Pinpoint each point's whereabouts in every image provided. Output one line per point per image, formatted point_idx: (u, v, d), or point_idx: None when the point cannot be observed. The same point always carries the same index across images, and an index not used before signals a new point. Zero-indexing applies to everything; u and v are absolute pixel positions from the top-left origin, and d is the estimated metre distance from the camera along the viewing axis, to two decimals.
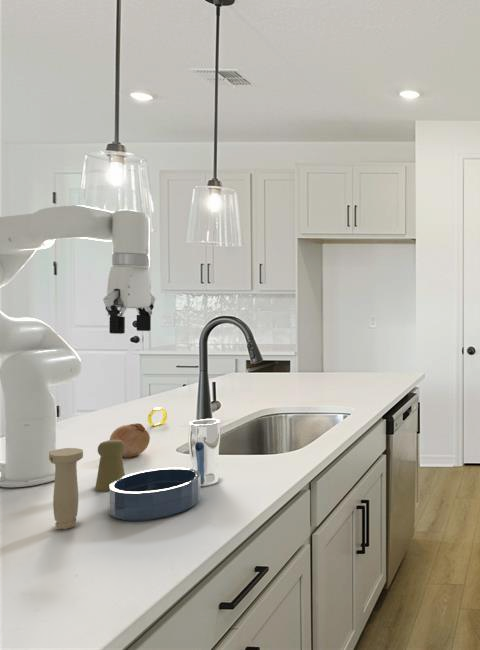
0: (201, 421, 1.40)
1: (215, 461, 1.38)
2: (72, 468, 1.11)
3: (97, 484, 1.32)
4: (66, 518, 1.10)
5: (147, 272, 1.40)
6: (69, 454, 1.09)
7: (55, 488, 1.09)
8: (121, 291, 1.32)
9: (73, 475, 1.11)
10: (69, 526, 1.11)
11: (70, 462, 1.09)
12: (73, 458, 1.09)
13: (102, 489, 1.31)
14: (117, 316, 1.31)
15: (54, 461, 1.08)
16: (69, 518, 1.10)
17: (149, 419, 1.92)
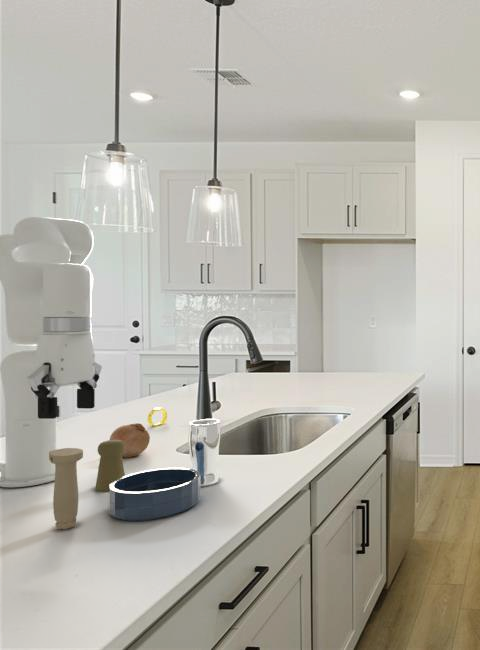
0: (201, 421, 1.40)
1: (215, 461, 1.38)
2: (72, 468, 1.11)
3: (97, 484, 1.32)
4: (66, 518, 1.10)
5: (89, 337, 1.13)
6: (69, 454, 1.09)
7: (55, 488, 1.09)
8: (52, 365, 1.06)
9: (73, 475, 1.11)
10: (69, 526, 1.11)
11: (70, 462, 1.09)
12: (73, 458, 1.09)
13: (102, 489, 1.31)
14: (47, 397, 1.05)
15: (54, 461, 1.08)
16: (69, 518, 1.10)
17: (149, 419, 1.92)
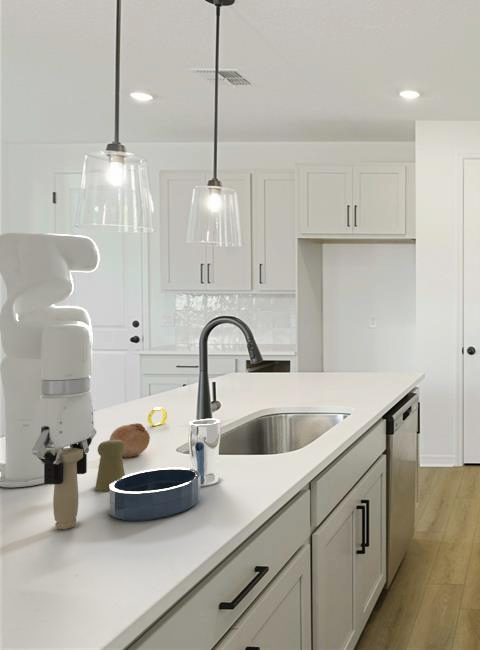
0: (201, 421, 1.40)
1: (215, 461, 1.38)
2: (72, 468, 1.11)
3: (97, 484, 1.32)
4: (66, 518, 1.10)
5: (87, 397, 1.13)
6: (69, 454, 1.09)
7: (55, 488, 1.09)
8: (51, 429, 1.06)
9: (73, 475, 1.11)
10: (69, 526, 1.11)
11: (70, 461, 1.09)
12: (73, 458, 1.09)
13: (102, 489, 1.31)
14: (53, 464, 1.07)
15: None
16: (69, 518, 1.10)
17: (149, 419, 1.92)
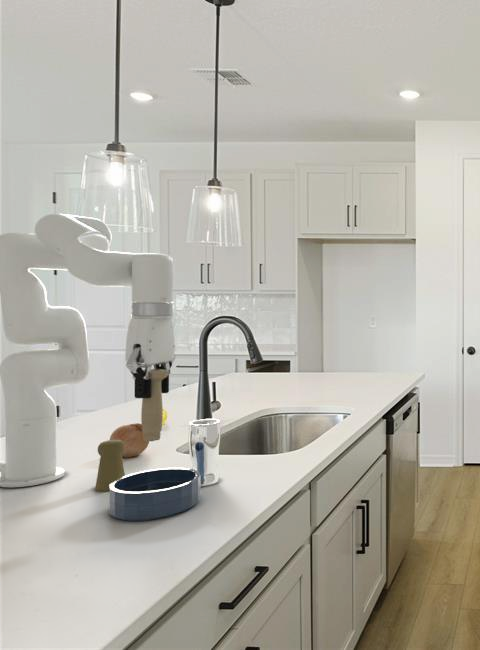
0: (201, 421, 1.40)
1: (215, 461, 1.38)
2: (158, 385, 1.21)
3: (97, 484, 1.32)
4: (153, 431, 1.20)
5: (170, 322, 1.23)
6: (156, 372, 1.19)
7: (143, 403, 1.20)
8: (142, 347, 1.16)
9: (159, 392, 1.21)
10: (155, 439, 1.21)
11: (157, 378, 1.19)
12: (160, 375, 1.19)
13: (102, 489, 1.31)
14: (143, 379, 1.17)
15: None
16: (155, 431, 1.20)
17: None
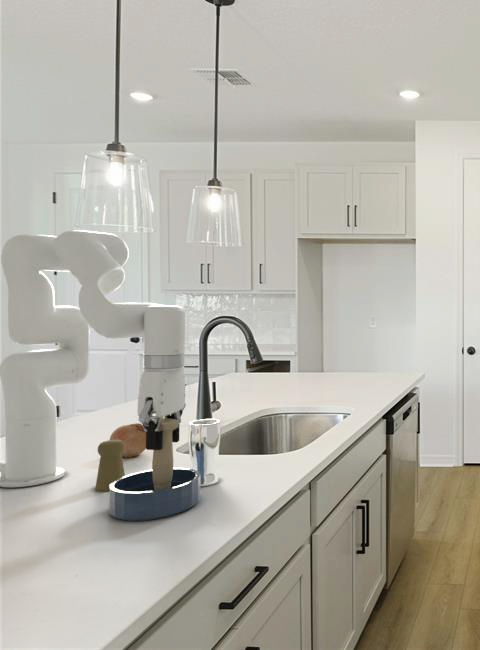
0: (201, 421, 1.40)
1: (215, 461, 1.38)
2: (169, 436, 1.22)
3: (97, 484, 1.32)
4: (163, 481, 1.21)
5: (181, 372, 1.24)
6: (167, 423, 1.20)
7: (154, 453, 1.21)
8: (154, 400, 1.17)
9: (170, 442, 1.22)
10: None
11: (168, 430, 1.20)
12: (171, 426, 1.20)
13: (102, 489, 1.31)
14: (155, 431, 1.18)
15: None
16: (166, 481, 1.21)
17: None
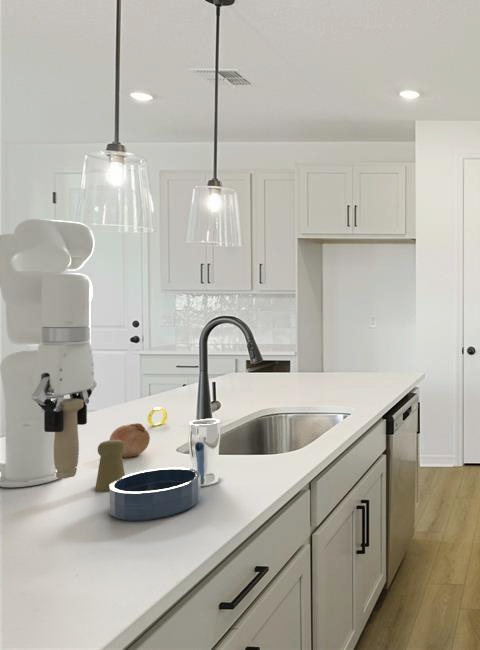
0: (201, 421, 1.40)
1: (215, 461, 1.38)
2: (73, 417, 1.10)
3: (97, 484, 1.32)
4: (66, 467, 1.10)
5: (88, 347, 1.13)
6: (70, 402, 1.09)
7: (55, 436, 1.09)
8: (51, 376, 1.06)
9: (74, 424, 1.11)
10: (69, 475, 1.10)
11: (70, 410, 1.09)
12: (74, 406, 1.09)
13: (102, 489, 1.31)
14: (53, 411, 1.07)
15: None
16: (69, 467, 1.10)
17: (149, 419, 1.92)
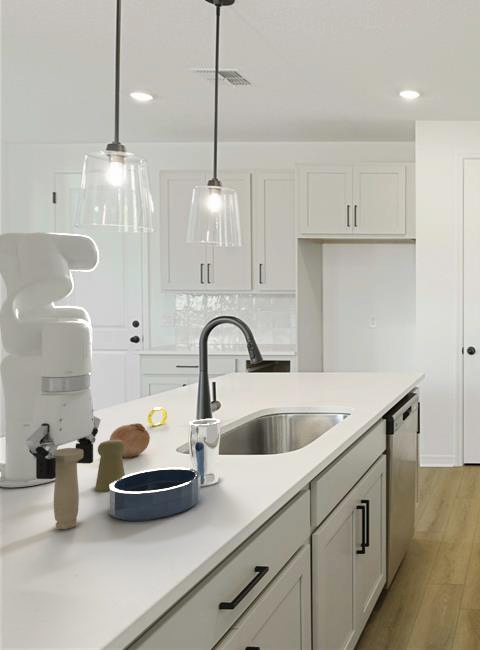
0: (201, 421, 1.40)
1: (215, 461, 1.38)
2: (72, 468, 1.11)
3: (97, 484, 1.32)
4: (66, 518, 1.10)
5: (87, 394, 1.13)
6: (69, 454, 1.09)
7: (55, 488, 1.09)
8: (51, 426, 1.06)
9: (74, 475, 1.11)
10: (69, 526, 1.11)
11: (70, 462, 1.09)
12: (73, 458, 1.09)
13: (102, 489, 1.31)
14: (45, 458, 1.05)
15: None
16: (69, 518, 1.10)
17: (149, 419, 1.92)
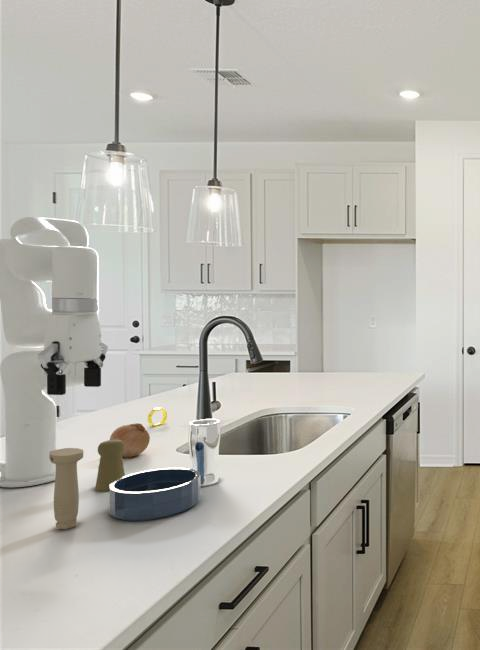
0: (201, 421, 1.40)
1: (215, 461, 1.38)
2: (72, 468, 1.11)
3: (97, 484, 1.32)
4: (66, 518, 1.10)
5: (96, 318, 1.18)
6: (69, 454, 1.09)
7: (55, 488, 1.09)
8: (61, 344, 1.10)
9: (74, 475, 1.11)
10: (69, 526, 1.11)
11: (70, 462, 1.09)
12: (73, 458, 1.09)
13: (102, 489, 1.31)
14: (56, 374, 1.10)
15: (54, 461, 1.08)
16: (69, 518, 1.10)
17: (149, 419, 1.92)
